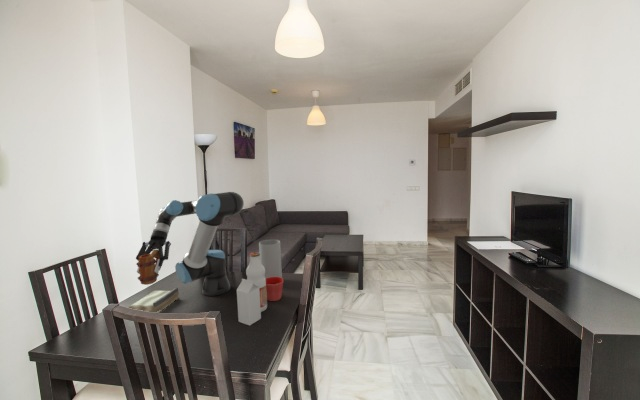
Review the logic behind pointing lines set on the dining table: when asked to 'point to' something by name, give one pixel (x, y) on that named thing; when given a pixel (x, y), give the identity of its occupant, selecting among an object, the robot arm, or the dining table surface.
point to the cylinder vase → (271, 257)
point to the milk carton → (248, 302)
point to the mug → (148, 267)
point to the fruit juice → (257, 277)
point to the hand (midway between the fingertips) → (147, 272)
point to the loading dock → (156, 300)
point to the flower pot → (274, 288)
